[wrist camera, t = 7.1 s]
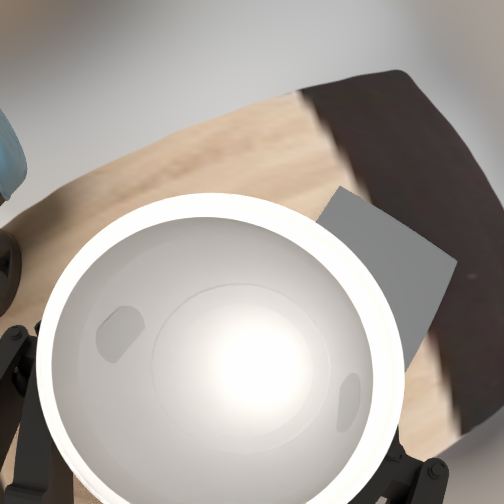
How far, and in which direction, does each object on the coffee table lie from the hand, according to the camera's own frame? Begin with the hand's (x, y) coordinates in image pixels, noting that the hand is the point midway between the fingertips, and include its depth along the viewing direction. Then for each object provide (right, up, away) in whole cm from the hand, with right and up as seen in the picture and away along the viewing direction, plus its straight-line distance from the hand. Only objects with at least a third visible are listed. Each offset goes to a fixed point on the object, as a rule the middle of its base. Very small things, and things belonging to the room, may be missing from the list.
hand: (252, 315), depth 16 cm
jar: (0, -5, +5) cm, 7 cm away
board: (+14, 0, +19) cm, 23 cm away
